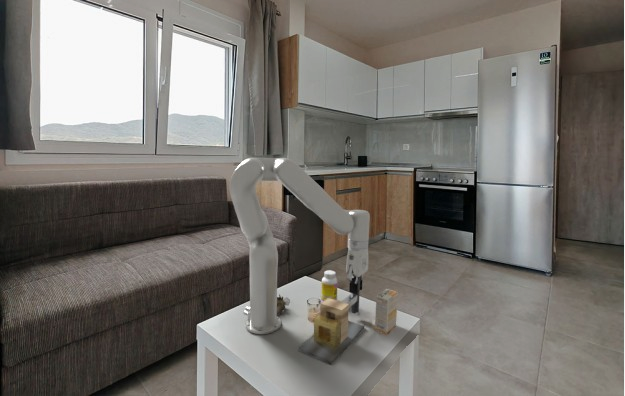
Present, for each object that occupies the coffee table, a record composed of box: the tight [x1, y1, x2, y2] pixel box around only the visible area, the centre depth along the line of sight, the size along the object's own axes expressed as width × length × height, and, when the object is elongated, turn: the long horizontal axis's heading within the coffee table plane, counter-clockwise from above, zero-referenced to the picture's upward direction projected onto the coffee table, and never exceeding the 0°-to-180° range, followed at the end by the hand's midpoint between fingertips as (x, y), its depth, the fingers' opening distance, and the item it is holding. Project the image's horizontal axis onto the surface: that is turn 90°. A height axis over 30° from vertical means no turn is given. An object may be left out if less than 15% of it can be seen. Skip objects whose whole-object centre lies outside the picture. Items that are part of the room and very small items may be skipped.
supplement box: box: [374, 288, 399, 335], centre depth 116 cm, size 8×5×13 cm, turn 141°
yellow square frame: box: [313, 314, 340, 349], centre depth 104 cm, size 8×3×8 cm, turn 58°
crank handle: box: [330, 276, 361, 318], centre depth 115 cm, size 3×18×14 cm, turn 148°
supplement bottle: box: [320, 269, 339, 303], centre depth 135 cm, size 7×7×13 cm
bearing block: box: [298, 298, 365, 365], centre depth 108 cm, size 12×24×13 cm, turn 148°
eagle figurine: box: [277, 294, 291, 317], centre depth 126 cm, size 8×7×9 cm
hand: (355, 290), depth 121 cm, fingers closed on crank handle, 3 cm apart
